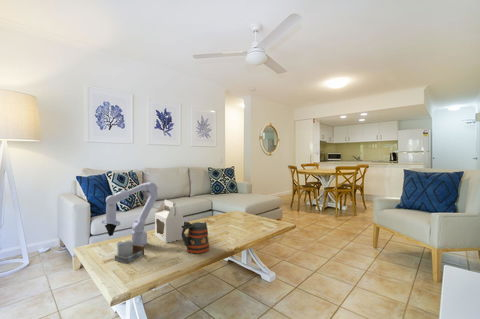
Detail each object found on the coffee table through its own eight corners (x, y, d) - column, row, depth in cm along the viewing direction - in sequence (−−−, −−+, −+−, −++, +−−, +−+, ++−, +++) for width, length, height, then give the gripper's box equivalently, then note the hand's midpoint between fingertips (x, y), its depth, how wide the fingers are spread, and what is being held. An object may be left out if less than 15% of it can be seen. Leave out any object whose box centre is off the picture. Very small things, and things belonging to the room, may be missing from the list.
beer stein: (189, 258, 135) (190, 224, 135) (176, 251, 145) (176, 220, 145) (213, 249, 149) (213, 219, 149) (199, 243, 159) (199, 215, 159)
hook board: (120, 249, 147) (120, 241, 147) (144, 255, 139) (144, 246, 139) (101, 257, 136) (101, 248, 136) (126, 263, 127) (126, 254, 127)
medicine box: (131, 254, 140) (131, 240, 141) (132, 256, 137) (132, 242, 137) (117, 257, 136) (117, 242, 136) (118, 259, 132) (118, 244, 132)
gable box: (183, 239, 168) (183, 201, 168) (165, 243, 159) (166, 203, 159) (170, 232, 185) (171, 198, 185) (154, 235, 176) (155, 199, 176)
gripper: (97, 214, 144) (97, 235, 144) (113, 216, 139) (113, 239, 139) (107, 212, 151) (107, 232, 151) (123, 214, 145) (123, 235, 145)
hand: (110, 235), depth 145 cm, fingers closed
